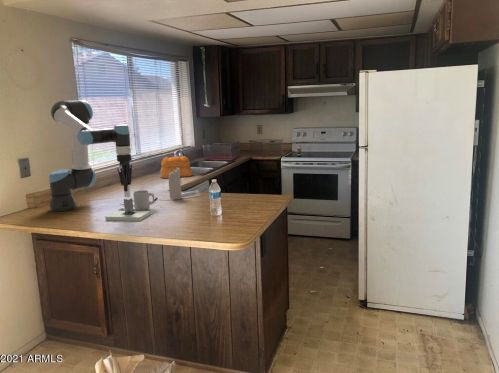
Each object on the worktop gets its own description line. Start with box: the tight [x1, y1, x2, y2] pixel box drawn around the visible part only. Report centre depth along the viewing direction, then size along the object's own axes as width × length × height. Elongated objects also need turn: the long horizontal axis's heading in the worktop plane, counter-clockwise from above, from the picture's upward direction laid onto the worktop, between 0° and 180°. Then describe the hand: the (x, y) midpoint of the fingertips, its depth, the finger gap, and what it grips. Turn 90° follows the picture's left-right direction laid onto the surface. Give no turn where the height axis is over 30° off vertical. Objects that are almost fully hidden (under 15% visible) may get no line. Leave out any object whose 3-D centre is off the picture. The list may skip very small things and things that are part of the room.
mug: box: [133, 189, 156, 209], centre depth 248 cm, size 12×8×11 cm
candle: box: [159, 168, 183, 201], centre depth 273 cm, size 7×14×20 cm, turn 108°
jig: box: [104, 207, 153, 222], centre depth 234 cm, size 20×16×3 cm
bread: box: [160, 155, 193, 179], centre depth 361 cm, size 16×26×17 cm, turn 105°
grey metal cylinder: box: [123, 197, 134, 215], centre depth 233 cm, size 5×5×10 cm
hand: (127, 196), depth 232 cm, fingers closed
